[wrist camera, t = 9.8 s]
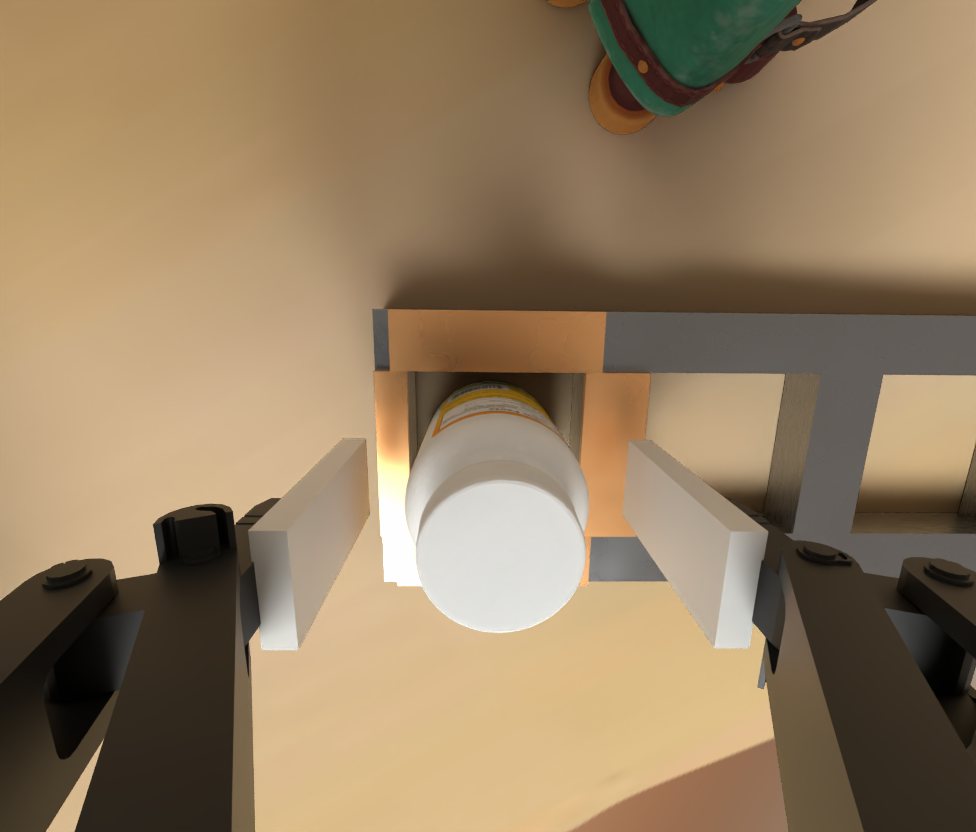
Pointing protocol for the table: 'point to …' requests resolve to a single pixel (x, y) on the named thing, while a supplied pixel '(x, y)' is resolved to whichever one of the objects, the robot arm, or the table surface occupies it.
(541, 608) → the supplement bottle
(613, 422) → the hole rail
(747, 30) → the binoculars
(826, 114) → the table surface
